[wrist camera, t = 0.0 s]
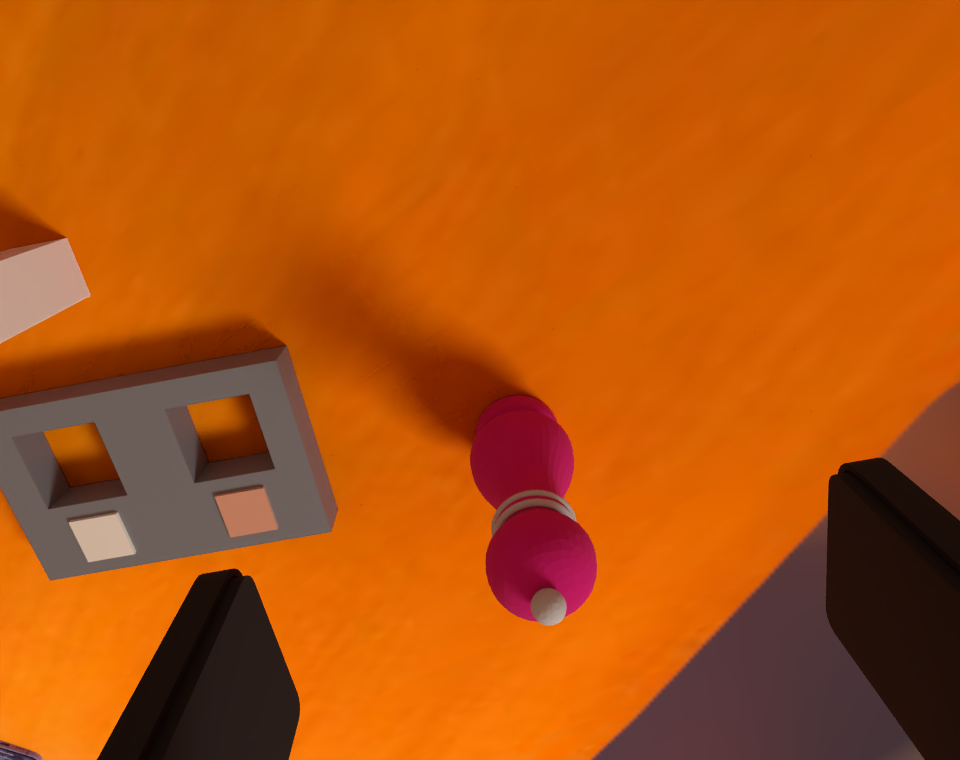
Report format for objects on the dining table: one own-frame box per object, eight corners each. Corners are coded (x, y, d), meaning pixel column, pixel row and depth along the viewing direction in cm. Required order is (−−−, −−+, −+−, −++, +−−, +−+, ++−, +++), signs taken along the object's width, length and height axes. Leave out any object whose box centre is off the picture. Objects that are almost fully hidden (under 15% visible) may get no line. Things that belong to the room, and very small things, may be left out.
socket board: (-9, 400, 49) (-40, 420, 45) (286, 345, 48) (274, 361, 45) (70, 556, 54) (47, 583, 51) (337, 509, 53) (330, 534, 50)
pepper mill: (569, 465, 52) (630, 664, 34) (477, 479, 52) (488, 685, 34) (558, 380, 49) (618, 547, 31) (461, 396, 50) (464, 570, 31)
